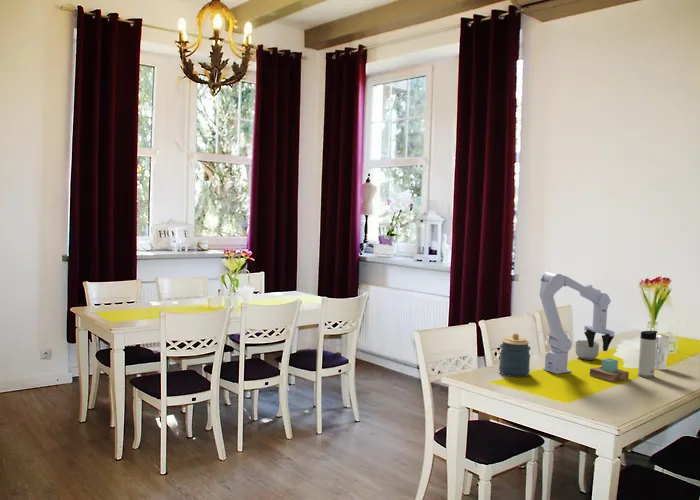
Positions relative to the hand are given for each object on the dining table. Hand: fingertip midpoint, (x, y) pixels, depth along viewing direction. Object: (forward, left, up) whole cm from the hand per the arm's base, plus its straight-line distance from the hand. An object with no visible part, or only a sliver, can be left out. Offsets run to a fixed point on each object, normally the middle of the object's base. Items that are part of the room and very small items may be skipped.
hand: (598, 349), depth 287 cm
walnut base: (-6, -11, -9) cm, 16 cm away
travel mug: (+11, -17, -10) cm, 22 cm away
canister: (-40, +11, -10) cm, 43 cm away
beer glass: (+29, -11, -10) cm, 32 cm away
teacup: (+14, +18, -10) cm, 25 cm away
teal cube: (-6, -11, -6) cm, 14 cm away
